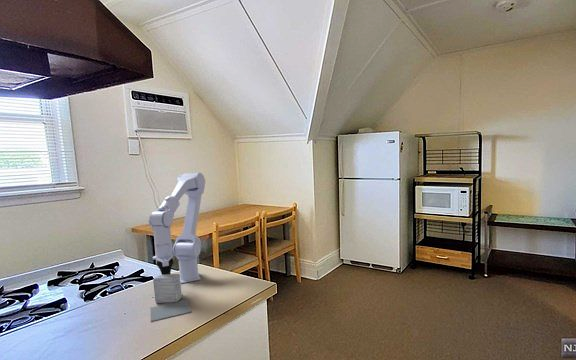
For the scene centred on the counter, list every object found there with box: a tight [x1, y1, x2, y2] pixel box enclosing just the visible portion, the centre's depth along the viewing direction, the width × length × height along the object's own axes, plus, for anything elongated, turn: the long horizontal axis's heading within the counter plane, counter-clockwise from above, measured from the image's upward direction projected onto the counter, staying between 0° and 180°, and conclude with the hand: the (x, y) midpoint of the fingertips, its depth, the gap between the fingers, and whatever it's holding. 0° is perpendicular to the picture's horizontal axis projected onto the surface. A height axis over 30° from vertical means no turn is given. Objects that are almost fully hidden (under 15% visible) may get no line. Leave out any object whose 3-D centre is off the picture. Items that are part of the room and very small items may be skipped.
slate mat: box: [150, 299, 192, 323], centre depth 107 cm, size 10×12×1 cm
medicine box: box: [152, 273, 183, 304], centre depth 114 cm, size 8×4×9 cm, turn 84°
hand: (166, 279), depth 120 cm, fingers closed
